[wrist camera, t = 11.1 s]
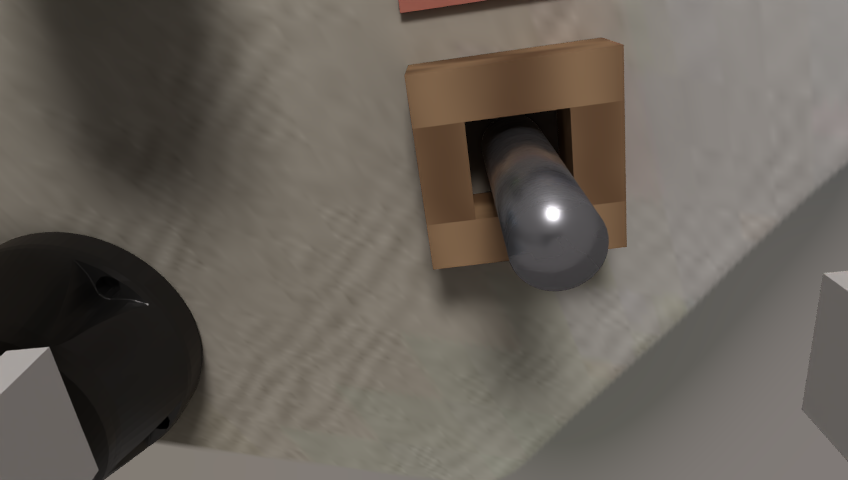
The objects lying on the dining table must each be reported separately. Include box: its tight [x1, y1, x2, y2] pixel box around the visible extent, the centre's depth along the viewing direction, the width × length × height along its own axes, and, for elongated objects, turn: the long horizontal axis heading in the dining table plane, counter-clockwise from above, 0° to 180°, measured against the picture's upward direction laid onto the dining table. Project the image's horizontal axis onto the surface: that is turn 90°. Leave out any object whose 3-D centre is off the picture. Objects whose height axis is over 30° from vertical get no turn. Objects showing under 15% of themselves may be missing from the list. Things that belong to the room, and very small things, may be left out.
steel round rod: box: [481, 115, 609, 291], centre depth 27 cm, size 3×3×14 cm
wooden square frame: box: [405, 38, 627, 270], centre depth 32 cm, size 10×10×4 cm
